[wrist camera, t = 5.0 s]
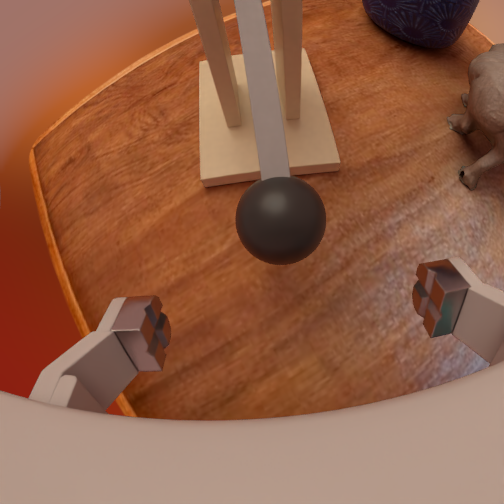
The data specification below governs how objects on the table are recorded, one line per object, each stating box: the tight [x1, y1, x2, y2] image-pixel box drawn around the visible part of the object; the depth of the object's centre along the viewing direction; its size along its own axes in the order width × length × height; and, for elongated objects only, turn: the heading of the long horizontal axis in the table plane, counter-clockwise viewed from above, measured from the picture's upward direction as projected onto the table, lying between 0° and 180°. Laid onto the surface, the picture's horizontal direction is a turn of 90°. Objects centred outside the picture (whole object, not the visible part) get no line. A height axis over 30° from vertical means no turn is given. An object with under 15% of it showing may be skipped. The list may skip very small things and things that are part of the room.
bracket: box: [189, 0, 341, 187], centre depth 14 cm, size 12×9×15 cm
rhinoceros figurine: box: [447, 44, 504, 190], centre depth 15 cm, size 8×14×15 cm
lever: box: [234, 0, 326, 265], centre depth 10 cm, size 16×4×4 cm
